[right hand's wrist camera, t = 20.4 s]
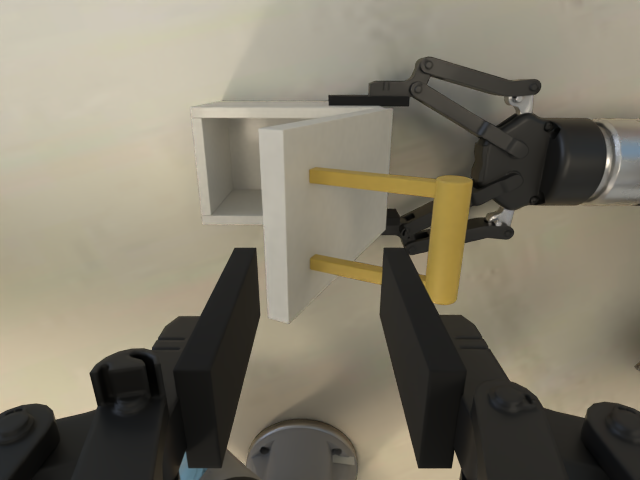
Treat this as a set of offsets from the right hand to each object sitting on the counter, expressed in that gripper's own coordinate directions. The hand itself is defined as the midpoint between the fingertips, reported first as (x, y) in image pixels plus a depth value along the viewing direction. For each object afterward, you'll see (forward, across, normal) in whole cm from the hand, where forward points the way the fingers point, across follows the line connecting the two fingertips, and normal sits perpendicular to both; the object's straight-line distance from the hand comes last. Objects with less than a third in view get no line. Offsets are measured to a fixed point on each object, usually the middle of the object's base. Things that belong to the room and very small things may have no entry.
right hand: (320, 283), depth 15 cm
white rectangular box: (+12, -1, 0) cm, 12 cm away
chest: (+30, +2, 0) cm, 30 cm away
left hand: (+23, -1, 0) cm, 23 cm away
